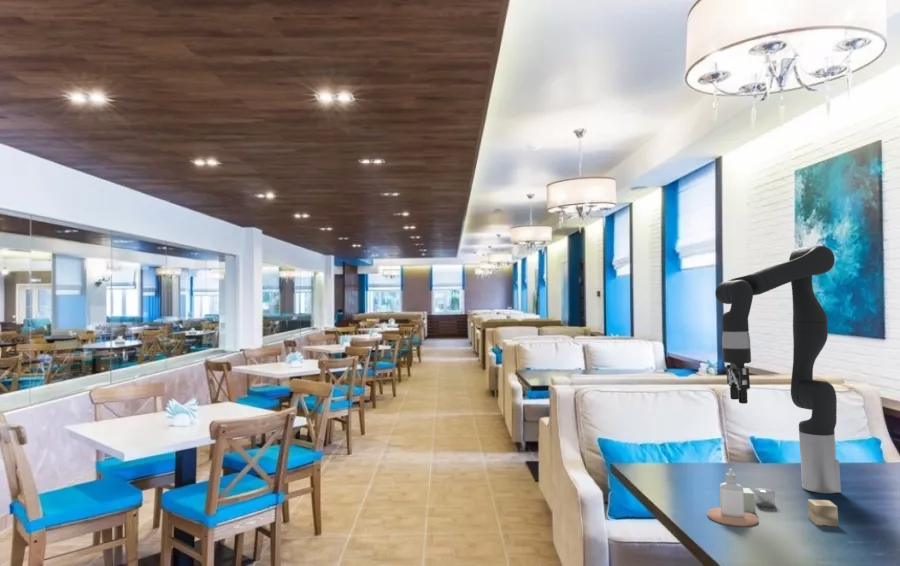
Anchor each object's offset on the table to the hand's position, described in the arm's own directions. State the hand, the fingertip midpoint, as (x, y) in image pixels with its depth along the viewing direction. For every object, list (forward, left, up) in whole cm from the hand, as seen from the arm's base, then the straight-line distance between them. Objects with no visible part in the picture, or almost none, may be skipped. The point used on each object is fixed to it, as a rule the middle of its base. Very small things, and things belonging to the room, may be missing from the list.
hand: (738, 401), depth 167 cm
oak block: (-14, +18, -28) cm, 36 cm away
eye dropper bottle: (+8, +19, -28) cm, 34 cm away
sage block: (+3, +10, -28) cm, 30 cm away
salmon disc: (+8, +19, -28) cm, 35 cm away
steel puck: (-4, +6, -28) cm, 29 cm away
